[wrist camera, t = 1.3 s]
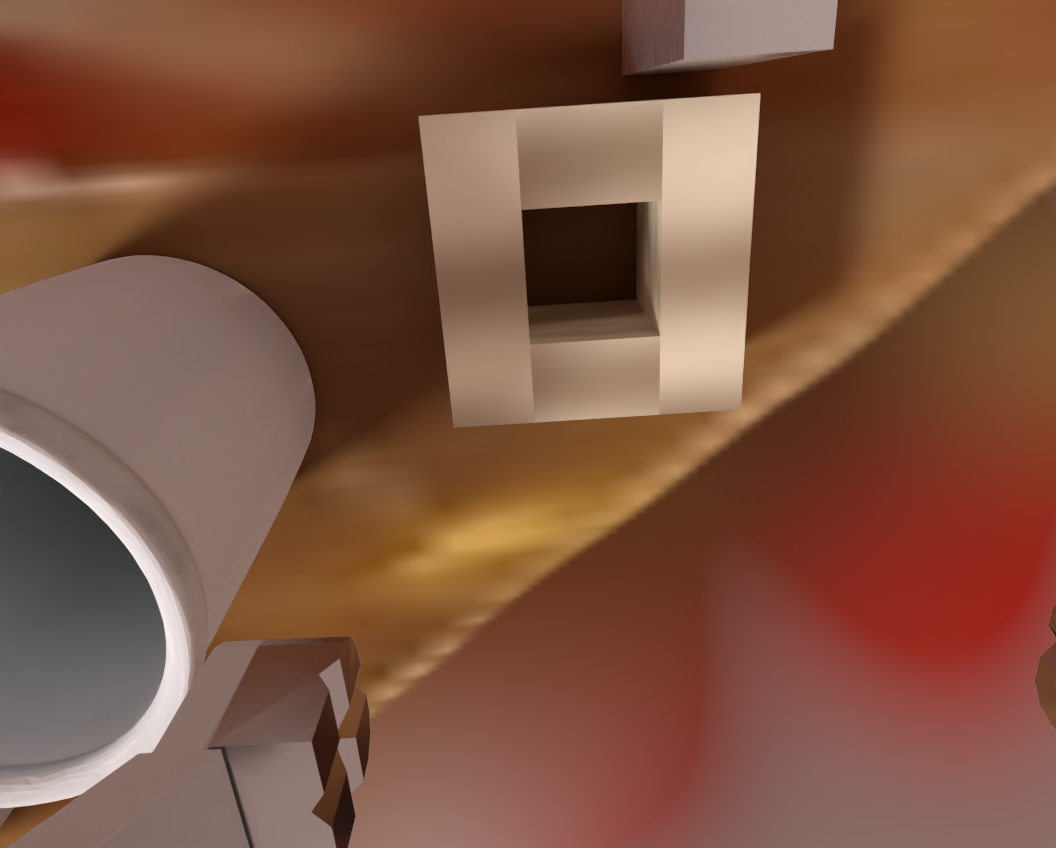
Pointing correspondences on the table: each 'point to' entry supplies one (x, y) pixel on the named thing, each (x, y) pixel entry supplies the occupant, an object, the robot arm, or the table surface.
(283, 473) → the utensil holder
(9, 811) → the coffee box
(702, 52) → the square bar
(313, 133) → the table surface
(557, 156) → the socket block
